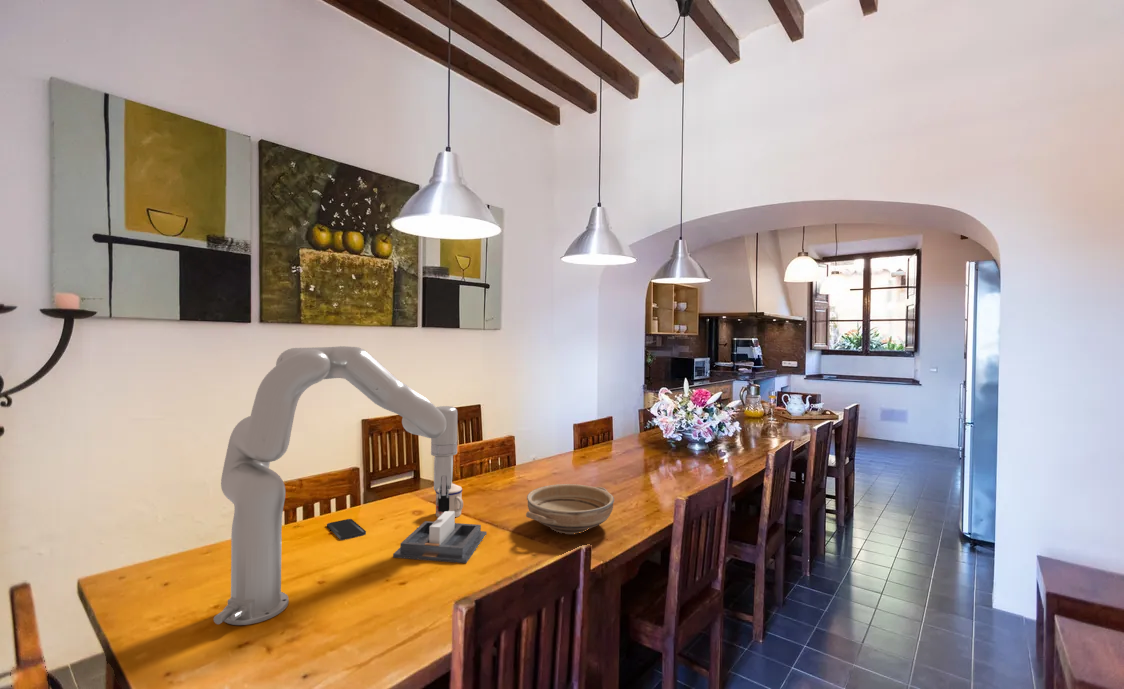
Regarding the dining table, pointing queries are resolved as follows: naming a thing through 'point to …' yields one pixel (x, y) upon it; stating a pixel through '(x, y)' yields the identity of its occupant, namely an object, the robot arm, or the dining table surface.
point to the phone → (346, 529)
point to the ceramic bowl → (570, 507)
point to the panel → (442, 527)
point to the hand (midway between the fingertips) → (443, 510)
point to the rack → (442, 544)
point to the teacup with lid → (452, 500)
